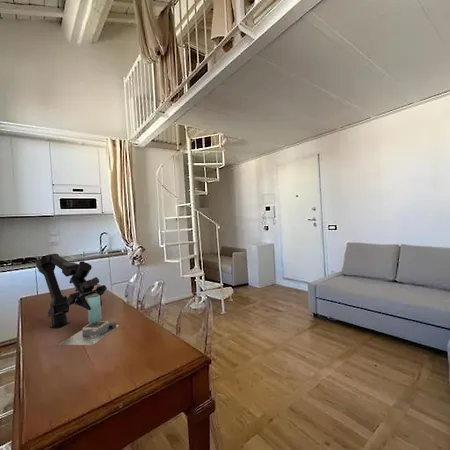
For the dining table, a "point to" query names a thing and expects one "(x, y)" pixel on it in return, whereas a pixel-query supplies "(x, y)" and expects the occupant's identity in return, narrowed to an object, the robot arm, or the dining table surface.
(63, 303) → the robot arm
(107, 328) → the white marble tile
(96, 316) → the bottle
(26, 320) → the dining table surface
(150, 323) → the dining table surface
